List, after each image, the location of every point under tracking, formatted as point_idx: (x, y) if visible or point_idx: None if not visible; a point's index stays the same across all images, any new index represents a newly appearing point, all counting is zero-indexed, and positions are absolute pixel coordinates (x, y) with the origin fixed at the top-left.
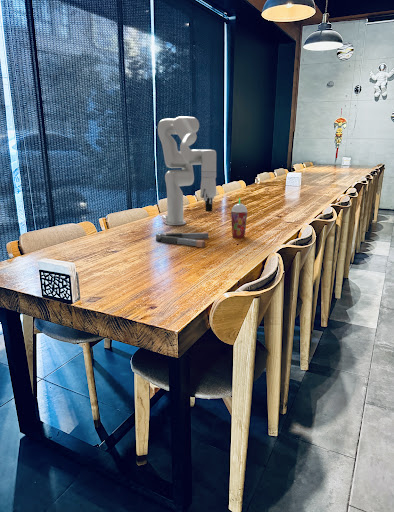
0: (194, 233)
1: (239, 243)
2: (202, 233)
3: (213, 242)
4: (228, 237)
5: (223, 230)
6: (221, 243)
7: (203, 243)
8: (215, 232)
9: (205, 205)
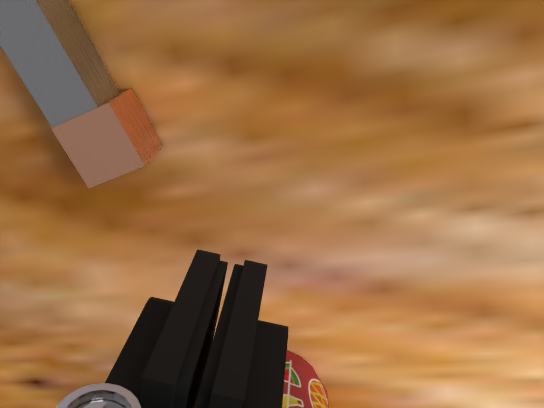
0: (14, 25)
1: (70, 392)
2: (60, 122)
3: (5, 226)
4: None
5: (535, 251)
6: (7, 287)
7: None
8: (419, 186)
9: (160, 335)
